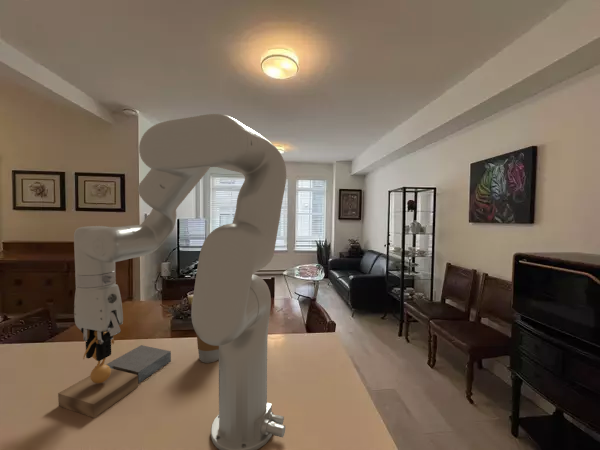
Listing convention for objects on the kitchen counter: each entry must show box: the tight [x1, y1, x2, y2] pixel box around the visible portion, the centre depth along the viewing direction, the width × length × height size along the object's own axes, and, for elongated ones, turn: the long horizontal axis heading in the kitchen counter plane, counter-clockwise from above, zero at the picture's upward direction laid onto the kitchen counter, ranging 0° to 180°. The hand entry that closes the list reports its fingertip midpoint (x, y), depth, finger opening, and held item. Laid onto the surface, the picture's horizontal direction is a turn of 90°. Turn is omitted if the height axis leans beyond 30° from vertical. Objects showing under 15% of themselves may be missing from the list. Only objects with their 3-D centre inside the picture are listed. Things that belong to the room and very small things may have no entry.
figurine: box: [82, 331, 115, 383], centre depth 67 cm, size 8×6×12 cm
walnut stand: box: [57, 368, 139, 418], centre depth 67 cm, size 11×11×3 cm
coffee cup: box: [196, 334, 219, 364], centre depth 84 cm, size 8×8×15 cm
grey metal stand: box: [106, 344, 172, 384], centre depth 78 cm, size 11×11×3 cm
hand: (98, 356), depth 66 cm, fingers closed on figurine, 2 cm apart
